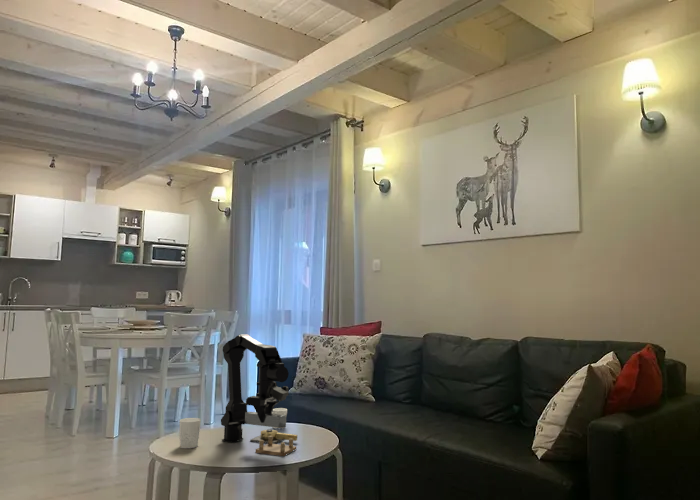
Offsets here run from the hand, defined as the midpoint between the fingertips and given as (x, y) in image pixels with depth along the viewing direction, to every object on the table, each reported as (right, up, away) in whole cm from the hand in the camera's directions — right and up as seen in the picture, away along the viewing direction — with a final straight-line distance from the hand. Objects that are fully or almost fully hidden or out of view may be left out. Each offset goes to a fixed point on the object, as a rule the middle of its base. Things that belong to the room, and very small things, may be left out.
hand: (265, 421), depth 200 cm
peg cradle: (+4, -11, +1) cm, 12 cm away
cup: (-1, -16, +40) cm, 43 cm away
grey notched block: (0, -1, 0) cm, 1 cm away
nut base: (-1, -13, +17) cm, 22 cm away
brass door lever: (+3, -12, +16) cm, 20 cm away
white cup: (-31, -12, +5) cm, 33 cm away
